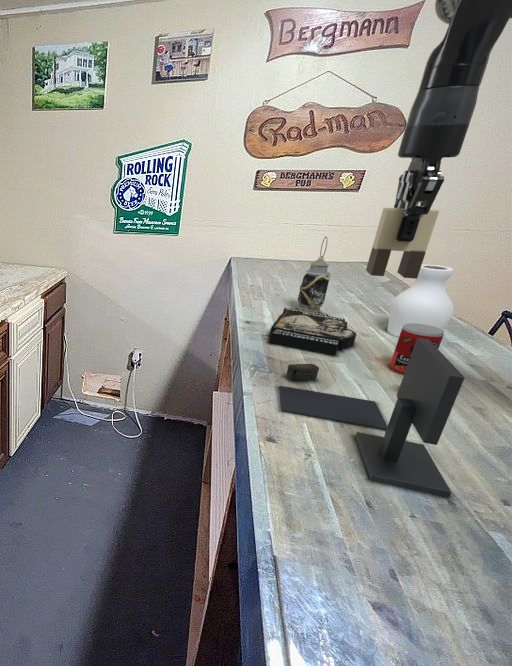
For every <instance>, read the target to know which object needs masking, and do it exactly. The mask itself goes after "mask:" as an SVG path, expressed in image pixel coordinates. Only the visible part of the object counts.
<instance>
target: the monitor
mask: <svg viewBox="0 0 512 666" xmlns="http://www.w3.org/2000/svg"><path fill="white" fill-rule="evenodd" d="M465 378H466V377H465V376H464V375H463V373H461V371H460V370H459V369H458V368H456V367H455V365H454V364H453V363H452V362H451V361H450V360H449V359H448V358H447V357H446V356H445V355H444V354H443V353H442V352H441V350H440V349H439V348H438V349H437V348H436V347H435V346H434V345H433V344H432V343H431V341H430V340H428V339H421V338H417V340H416V342H415V345H414V348H413V351H412V354H411V357H410V359H409V362H408V365H407V368H406V371H405V373H404V375H403V376H402V379H401V382H400V385H399V387H398V391H397V392H396V398H397V399H396V401H395V403H394V407H393V409H392V413H391V416H390V418H389V421H388V424H387V430H386V431H385V432H384V435H383V436H380V435H375V434H371V433H364V432H360V431H356V432H355V436H354V439H355V441H356V443H357V447H358V449H359V453H360V455H361V459H362V461H363V465H364V467H365V470H366V472H367V475H368V478H369V481H370V482H374V483H377V484H383V485H387V486H392V487H397V488H401V489H406V490H411V491H415V492H419V493H424V494H428V495H433V496H437V497H442V498H446V499H450V496H451V494H452V490H451V489H450V487H449V485H448V483H447V482H446V481H445V478H444V477H443V475H442V474H441V472H440V470H439V468H438V466H437V465H436V463H435V462H434V460H433V458H432V456H431V455H430V453H429V451H428V449H427V448H426V446H425V444H427V445H434V446H438V443H439V442H440V439H441V437H442V433H443V431H444V429H445V426H446V424H447V421H448V419H449V416H450V415H451V412H452V409H453V407H454V405H455V402H456V400H457V397H458V395H459V393H460V390H461V387H462V386H463V383H464V380H465ZM412 426H413V428H414V429H415V430H416V432H417V433H418V436H419V437H420V439H421V441H422V443H417V442H412V441H407V437H408V435H409V432H410V430H411V427H412Z"/></svg>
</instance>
